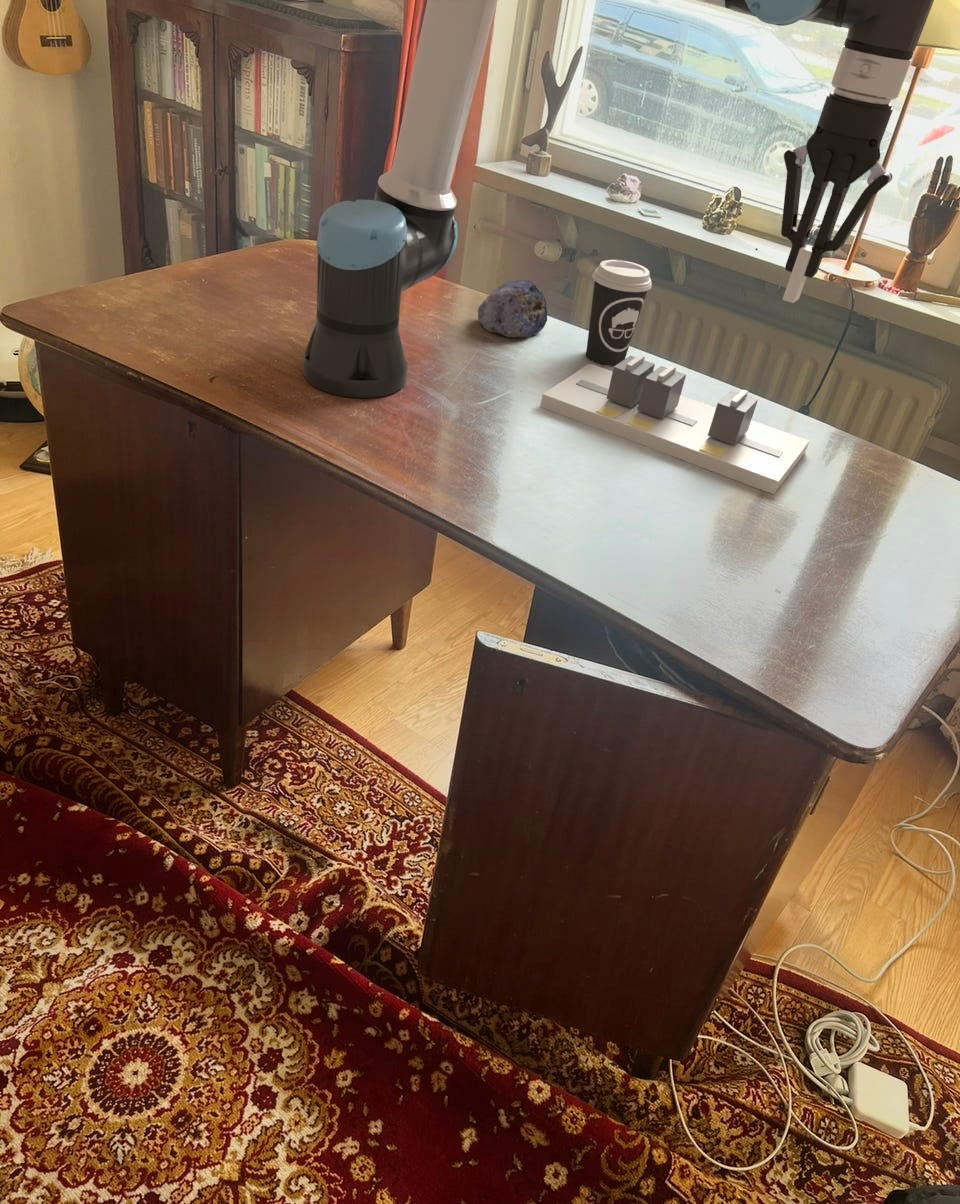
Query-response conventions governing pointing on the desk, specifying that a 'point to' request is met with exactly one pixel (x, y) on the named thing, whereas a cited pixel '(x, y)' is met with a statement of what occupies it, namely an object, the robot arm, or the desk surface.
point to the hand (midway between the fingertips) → (790, 298)
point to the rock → (514, 310)
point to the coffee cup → (615, 309)
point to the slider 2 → (661, 391)
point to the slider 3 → (732, 416)
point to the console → (680, 431)
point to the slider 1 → (629, 380)
